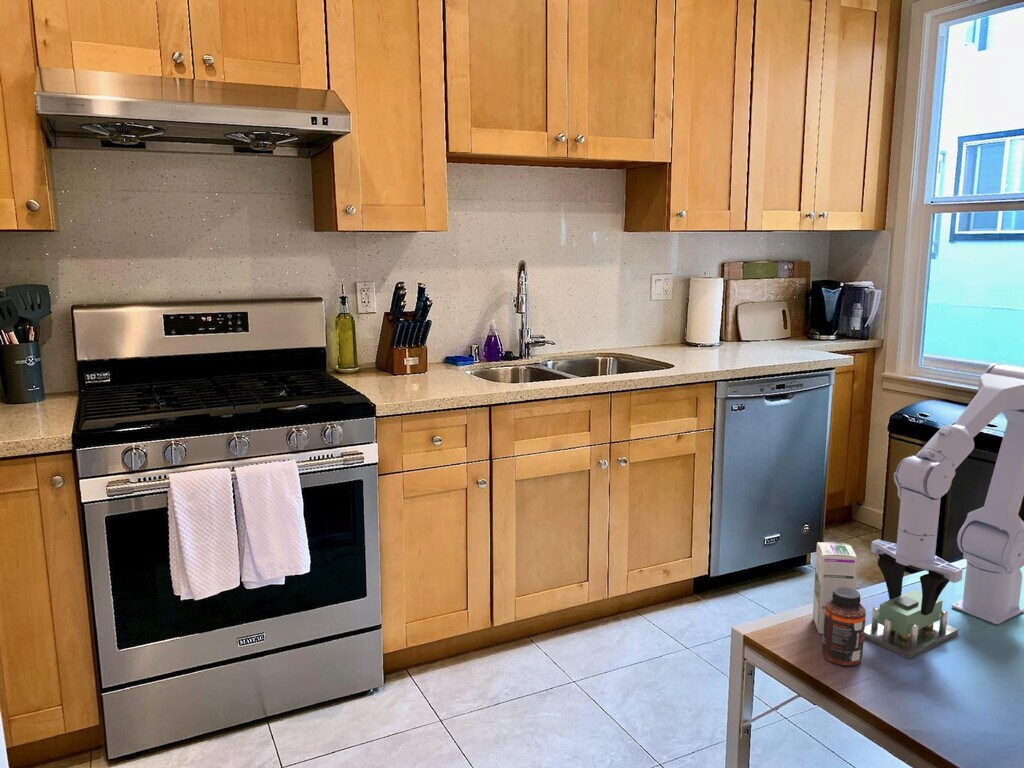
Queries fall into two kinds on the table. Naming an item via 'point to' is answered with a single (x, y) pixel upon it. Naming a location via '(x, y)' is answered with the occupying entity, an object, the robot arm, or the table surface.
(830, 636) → the supplement bottle
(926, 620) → the green rectangular block
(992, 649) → the table surface
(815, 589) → the syrup box
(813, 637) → the table surface
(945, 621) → the chassis
